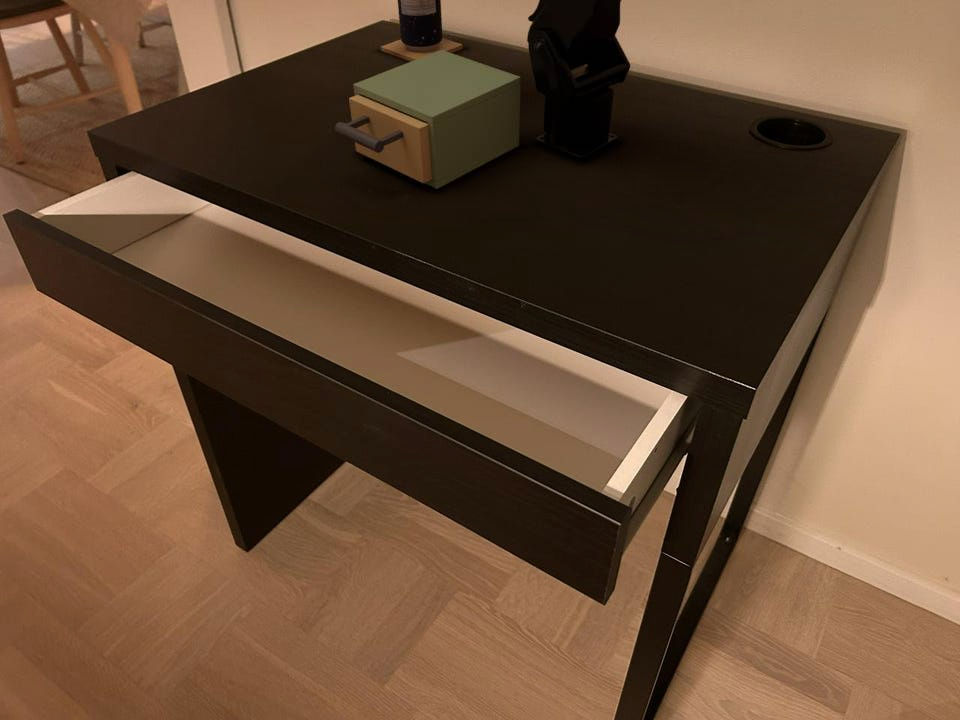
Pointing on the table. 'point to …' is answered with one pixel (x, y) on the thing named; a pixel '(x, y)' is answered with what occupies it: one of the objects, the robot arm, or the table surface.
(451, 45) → the coaster
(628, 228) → the table surface
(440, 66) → the cabinet
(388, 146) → the drawer
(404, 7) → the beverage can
